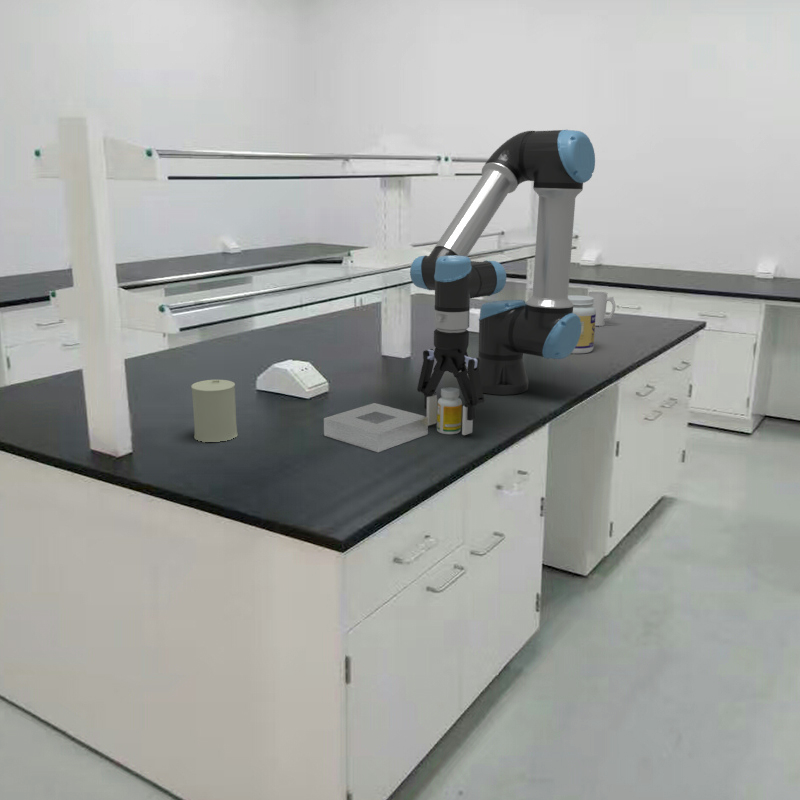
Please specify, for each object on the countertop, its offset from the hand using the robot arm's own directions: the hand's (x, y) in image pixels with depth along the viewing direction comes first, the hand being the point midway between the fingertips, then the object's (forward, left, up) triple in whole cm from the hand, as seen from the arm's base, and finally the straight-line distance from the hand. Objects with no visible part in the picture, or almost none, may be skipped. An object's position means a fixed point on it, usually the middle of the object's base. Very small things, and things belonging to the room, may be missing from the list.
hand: (449, 428), depth 185 cm
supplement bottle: (0, 0, -1) cm, 1 cm away
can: (+37, -35, -1) cm, 51 cm away
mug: (-135, -36, -1) cm, 140 cm away
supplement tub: (-92, -22, -1) cm, 95 cm away
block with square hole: (+13, -10, -1) cm, 16 cm away
